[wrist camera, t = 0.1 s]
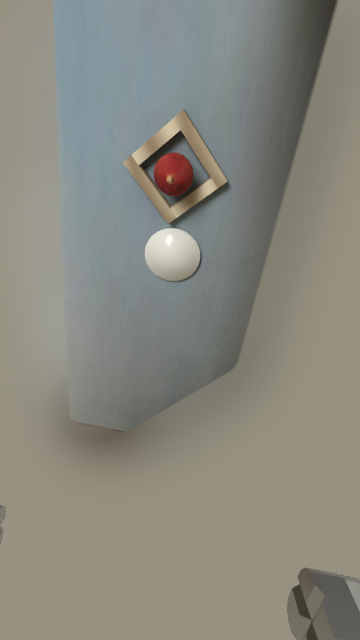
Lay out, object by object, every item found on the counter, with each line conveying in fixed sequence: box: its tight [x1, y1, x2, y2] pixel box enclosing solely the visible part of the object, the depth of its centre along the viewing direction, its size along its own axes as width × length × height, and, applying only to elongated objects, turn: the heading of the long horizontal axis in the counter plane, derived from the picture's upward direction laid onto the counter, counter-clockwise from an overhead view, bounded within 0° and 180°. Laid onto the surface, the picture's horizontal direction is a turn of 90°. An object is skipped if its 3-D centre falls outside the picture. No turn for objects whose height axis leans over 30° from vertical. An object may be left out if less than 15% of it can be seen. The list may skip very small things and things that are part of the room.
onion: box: [154, 152, 193, 196], centre depth 48 cm, size 6×6×8 cm
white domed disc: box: [145, 228, 200, 281], centre depth 59 cm, size 10×10×1 cm
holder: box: [123, 110, 227, 224], centre depth 51 cm, size 12×12×2 cm
